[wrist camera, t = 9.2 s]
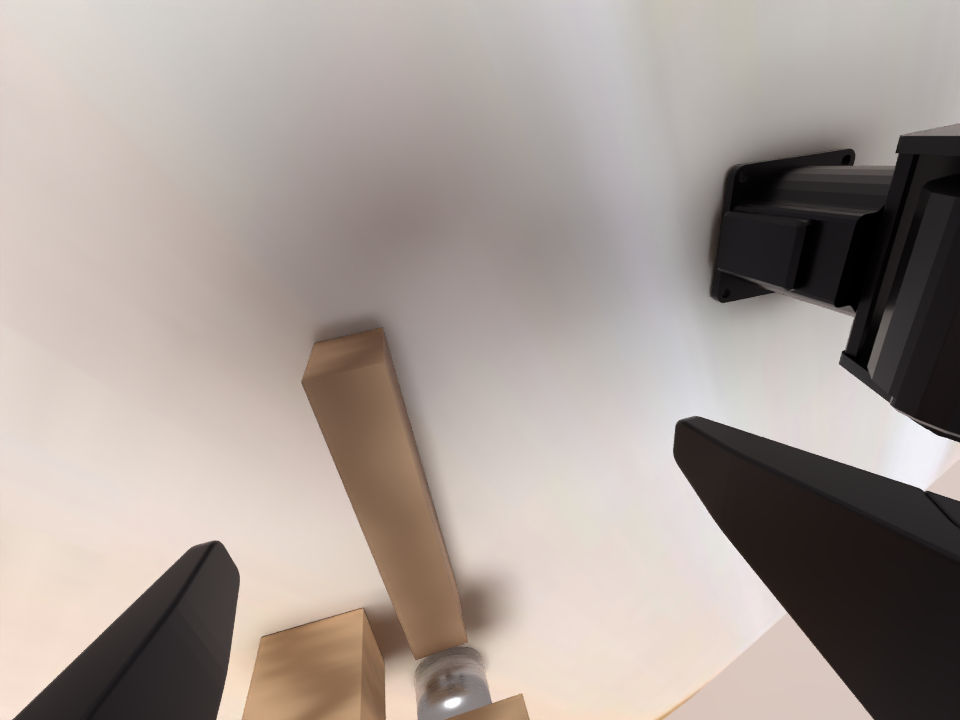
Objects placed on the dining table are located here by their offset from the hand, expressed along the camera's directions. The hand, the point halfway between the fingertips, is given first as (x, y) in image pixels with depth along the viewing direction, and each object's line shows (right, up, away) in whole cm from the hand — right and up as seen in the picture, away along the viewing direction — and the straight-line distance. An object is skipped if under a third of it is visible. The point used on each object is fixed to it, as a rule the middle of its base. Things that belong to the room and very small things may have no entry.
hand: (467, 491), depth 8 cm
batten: (-4, -4, +15) cm, 16 cm away
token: (-2, -20, +22) cm, 30 cm away
